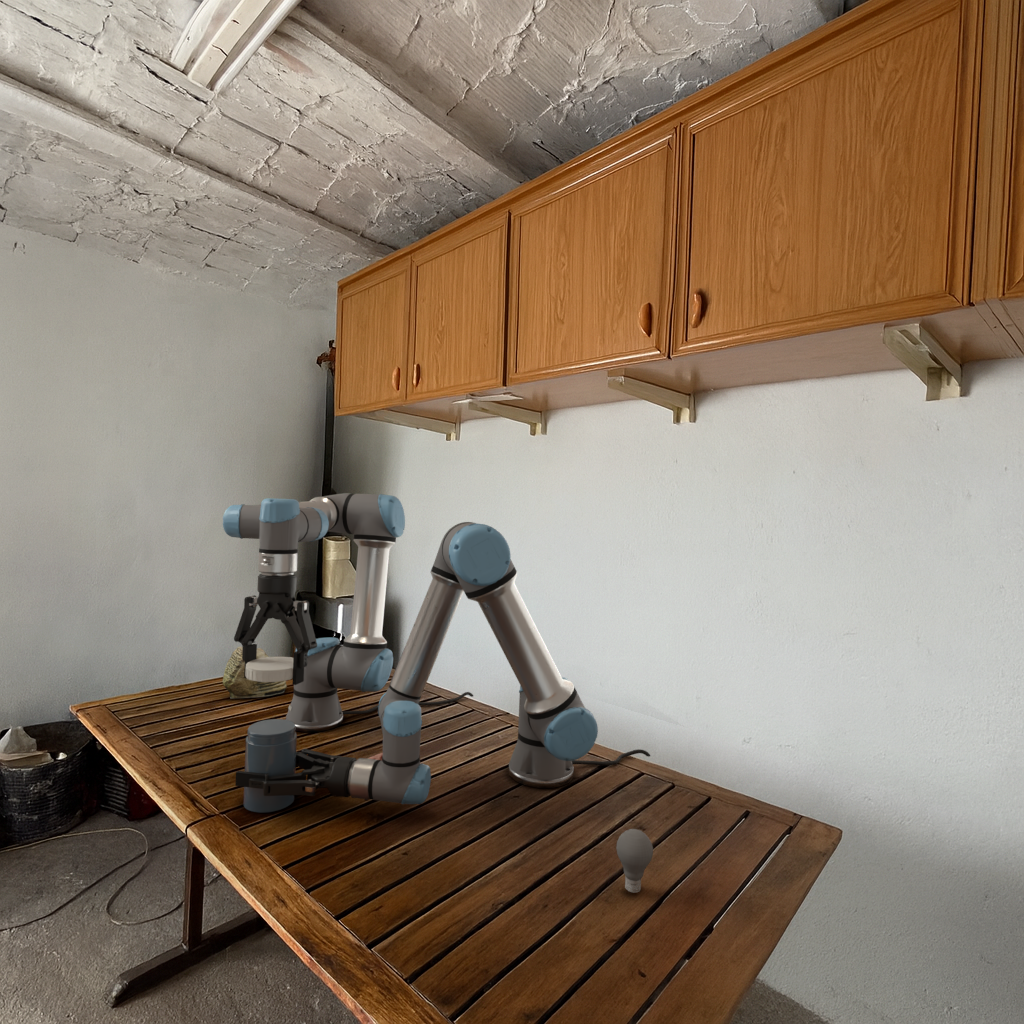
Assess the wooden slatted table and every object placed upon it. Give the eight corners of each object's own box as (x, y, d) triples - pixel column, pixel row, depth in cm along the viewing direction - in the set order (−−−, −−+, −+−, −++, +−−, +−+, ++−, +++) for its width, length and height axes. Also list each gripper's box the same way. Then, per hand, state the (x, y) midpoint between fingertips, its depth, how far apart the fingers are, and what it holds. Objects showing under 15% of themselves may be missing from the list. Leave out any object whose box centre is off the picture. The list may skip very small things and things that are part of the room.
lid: (283, 684, 124) (284, 672, 124) (233, 679, 126) (234, 667, 126) (311, 670, 135) (312, 659, 135) (264, 665, 137) (265, 654, 137)
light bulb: (610, 879, 108) (613, 822, 108) (644, 879, 109) (647, 822, 109) (619, 902, 102) (622, 840, 102) (655, 901, 103) (658, 840, 103)
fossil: (218, 695, 195) (220, 647, 195) (278, 685, 208) (279, 640, 207) (228, 703, 189) (230, 653, 188) (289, 692, 201) (290, 645, 201)
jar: (238, 796, 132) (241, 722, 132) (287, 786, 138) (290, 715, 138) (249, 817, 124) (252, 738, 124) (300, 805, 130) (303, 730, 129)
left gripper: (217, 571, 130) (213, 677, 130) (317, 579, 123) (312, 691, 124) (242, 567, 137) (238, 668, 137) (337, 575, 131) (333, 681, 131)
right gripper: (330, 823, 118) (218, 811, 120) (372, 772, 140) (276, 763, 143) (332, 783, 117) (220, 772, 120) (373, 739, 140) (278, 730, 143)
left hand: (273, 679), depth 131 cm, fingers closed on lid, 11 cm apart
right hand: (250, 767), depth 131 cm, fingers closed on jar, 10 cm apart
